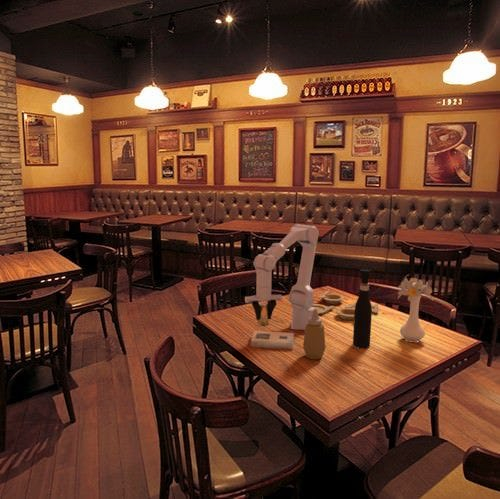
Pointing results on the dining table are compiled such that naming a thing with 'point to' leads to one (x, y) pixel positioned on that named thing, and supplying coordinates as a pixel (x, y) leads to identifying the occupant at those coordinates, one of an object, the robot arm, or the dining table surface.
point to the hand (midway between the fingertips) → (263, 319)
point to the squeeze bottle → (314, 337)
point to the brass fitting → (263, 315)
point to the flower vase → (413, 308)
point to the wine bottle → (363, 313)
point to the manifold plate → (272, 340)
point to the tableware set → (343, 312)
